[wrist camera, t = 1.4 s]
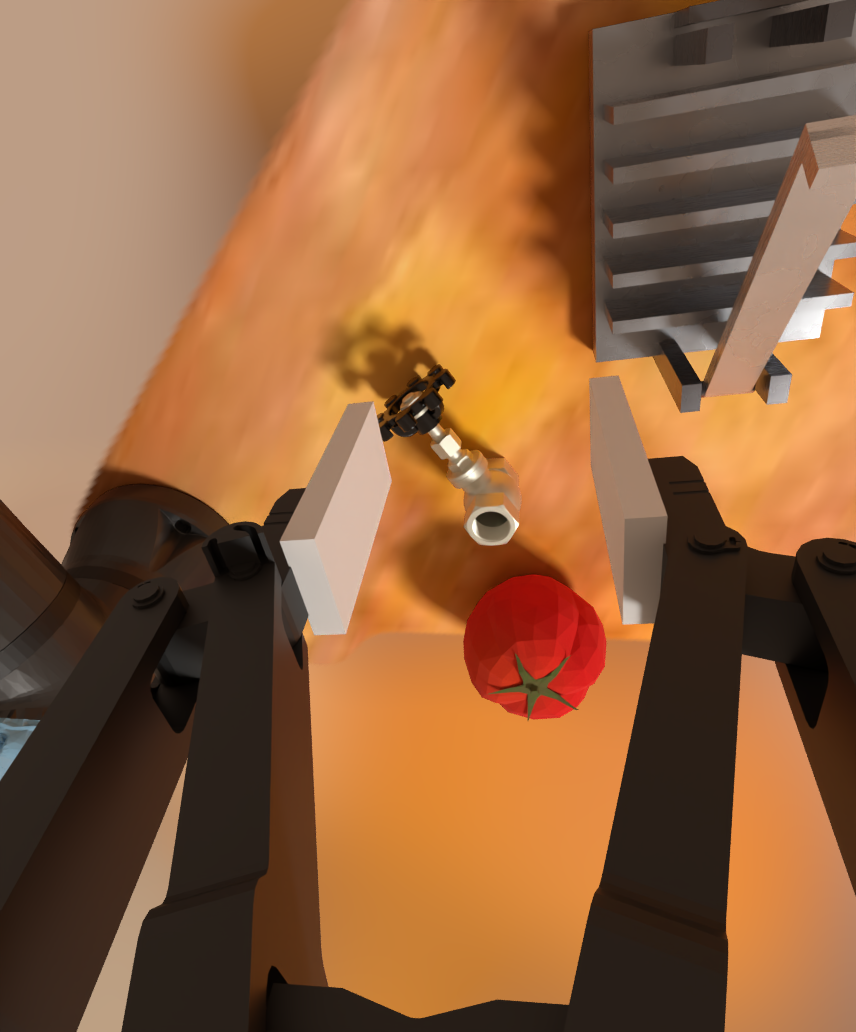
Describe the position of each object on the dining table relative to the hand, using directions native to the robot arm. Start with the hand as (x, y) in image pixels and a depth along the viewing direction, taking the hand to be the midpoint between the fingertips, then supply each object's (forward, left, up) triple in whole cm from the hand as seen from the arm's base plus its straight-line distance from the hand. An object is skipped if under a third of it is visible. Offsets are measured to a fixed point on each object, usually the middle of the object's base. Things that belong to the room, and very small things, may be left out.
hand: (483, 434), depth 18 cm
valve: (-4, -13, -25) cm, 29 cm away
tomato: (0, -30, -25) cm, 39 cm away
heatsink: (+12, +1, -25) cm, 28 cm away
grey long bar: (+12, -1, -14) cm, 18 cm away
